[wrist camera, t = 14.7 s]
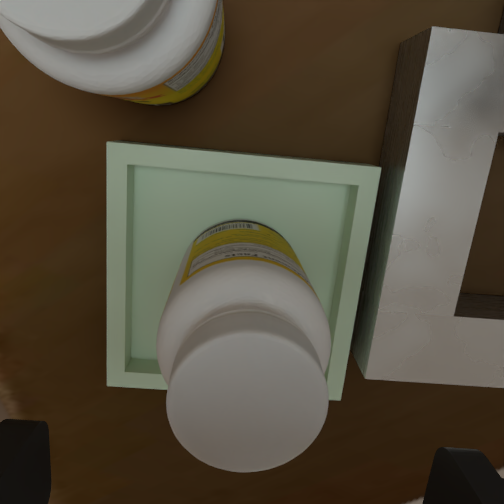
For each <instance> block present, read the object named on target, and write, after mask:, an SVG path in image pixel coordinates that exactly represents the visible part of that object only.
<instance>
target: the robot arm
mask: <svg viewBox="0 0 504 504" xmlns="http://www.w3.org/2000/svg"><path fill="white" fill-rule="evenodd" d="M50 491H51V466H50V446H49V429H48V425H47V423H46V422H45V421H33V420H17V419H5V420H3V421H2V422H0V504H48V501H49V497H50ZM423 504H504V479H503V478H501V477H500V475H499V474H498V473H497V471H496V470H495V468H494V467H493V466H492V464H491V463H490V462H489V460H488V459H487V458H486V456H485V455H484V454H483V453H482V452H481V451H479V450H477V449H463V448H447V447H441V448H439V449H438V450H437V451H436V453H435V456H434V460H433V464H432V468H431V472H430V476H429V480H428V484H427V488H426V492H425V496H424V500H423Z"/></svg>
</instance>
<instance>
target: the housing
mask: <svg viewBox="0 0 504 504" xmlns="http://www.w3.org/2000/svg"><path fill="white" fill-rule="evenodd" d="M498 136H504V10H503V14H502V19H501V23H500V27H499V32H498V34H495V33H486V32H478V31H469V30H460V29H451V28H443V27H434V26H432V27H430V28H428V29H426V30H424V31H422V32H420V33H419V34H417V35H415V36H413V37H411V38H409V39H407V40H405V41H403V42H401V44H400V49H399V55H398V61H397V67H396V72H395V78H394V84H393V90H392V95H391V101H390V107H389V113H388V118H387V124H386V130H385V136H384V141H383V147H382V153H381V159H380V164H379V167H381V173H380V179H379V185H378V190H377V196H376V202H375V207H374V213H373V219H372V224H371V230H370V236H369V242H368V247H367V253H366V259H365V264H364V270H363V276H362V281H361V287H360V293H359V299H358V304H357V310H356V316H355V321H354V327H353V333H352V338H351V344H350V350H351V352H352V354H353V356H354V358H355V360H356V362H357V364H358V366H359V368H360V370H361V372H362V374H363V376H364V378H365V379H375V380H390V381H405V382H421V383H436V384H451V385H466V386H482V387H497V388H504V296H491V295H478V294H465V293H459V292H460V288H461V284H462V280H463V276H464V272H465V268H466V264H467V259H468V255H469V251H470V247H471V243H472V239H473V235H474V231H475V227H476V223H477V219H478V215H479V210H480V206H481V202H482V198H483V194H484V190H485V186H486V182H487V178H488V174H489V170H490V166H491V162H492V157H493V153H494V149H495V145H496V141H497V137H498Z"/></svg>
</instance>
